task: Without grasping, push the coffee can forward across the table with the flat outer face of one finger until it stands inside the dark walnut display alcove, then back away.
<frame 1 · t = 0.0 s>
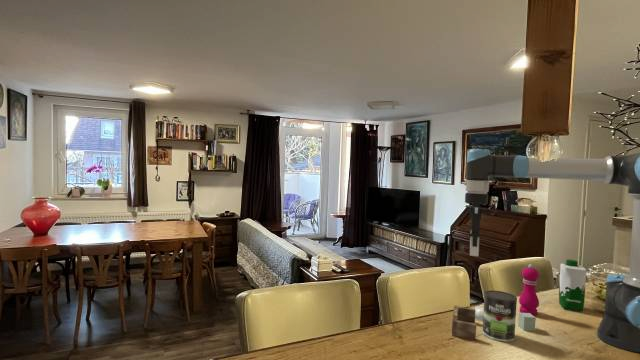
hand: (473, 251, 131), 28 cm above the table, tool pointing down, fingers open, 13 cm apart
sage block: (526, 328, 134), on the table
coffee can: (498, 335, 127), on the table
pepper mill: (528, 313, 149), on the table
white glossy round part: (484, 318, 142), on the table
milk carton: (570, 308, 156), on the table
display alcove: (464, 328, 132), on the table
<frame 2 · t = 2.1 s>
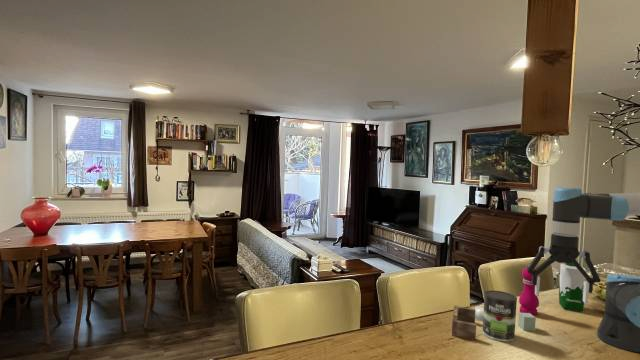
hand: (560, 298, 120), 16 cm above the table, tool pointing down, fingers open, 13 cm apart
nothing on the table moved.
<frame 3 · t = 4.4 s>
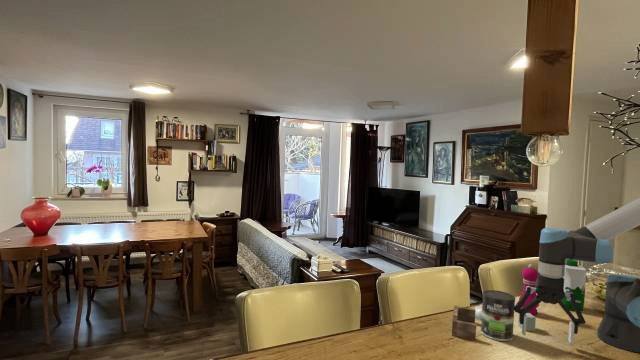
hand: (546, 338, 122), 2 cm above the table, tool pointing down, fingers open, 13 cm apart
coffee can: (496, 335, 128), on the table, touching gripper, hand
everything else where it was.
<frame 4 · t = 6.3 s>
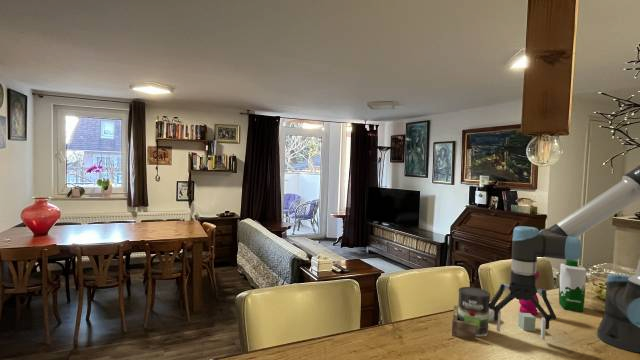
hand: (520, 334, 125), 2 cm above the table, tool pointing down, fingers open, 13 cm apart
coffee can: (472, 330, 130), on the table, touching display alcove, gripper
everything else where it was.
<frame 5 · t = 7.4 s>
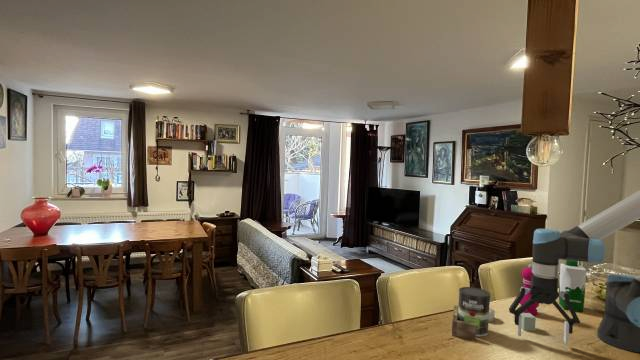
hand: (542, 338, 122), 2 cm above the table, tool pointing down, fingers open, 13 cm apart
coffee can: (472, 330, 130), on the table
everything else where it was.
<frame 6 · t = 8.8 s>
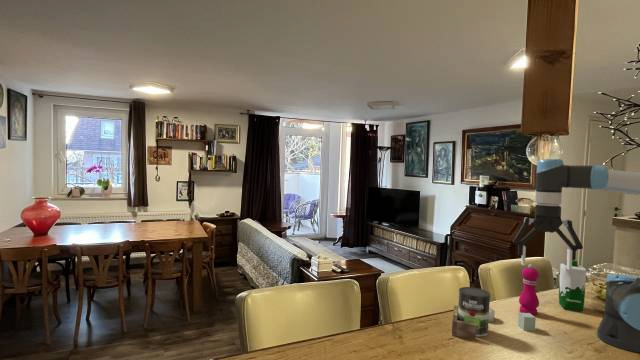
hand: (545, 267, 124), 25 cm above the table, tool pointing down, fingers open, 13 cm apart
nothing on the table moved.
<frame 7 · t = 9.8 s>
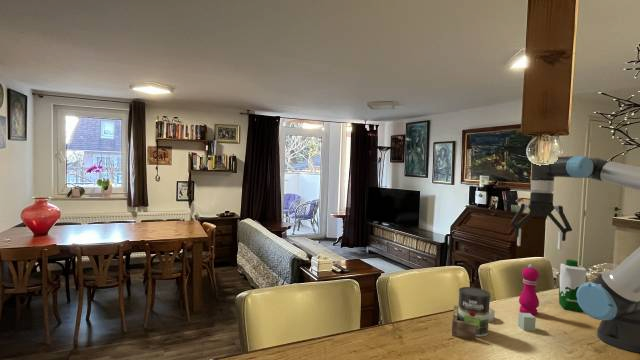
hand: (538, 247, 140), 29 cm above the table, tool pointing down, fingers open, 13 cm apart
nothing on the table moved.
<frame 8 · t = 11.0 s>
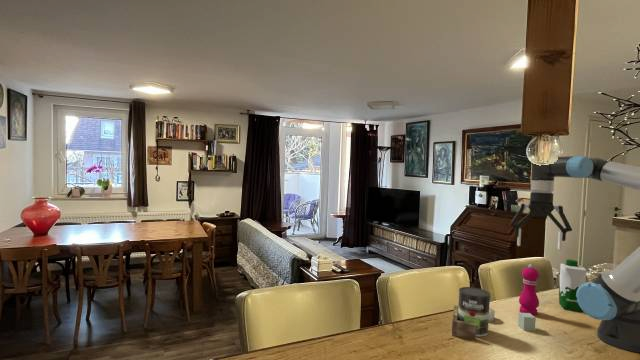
hand: (538, 247, 140), 29 cm above the table, tool pointing down, fingers open, 13 cm apart
nothing on the table moved.
at the end: coffee can inside the target area (0.8 cm from its centre), on the table; coffee can tilted 0°; coffee can moved 8.4 cm from its start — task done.
